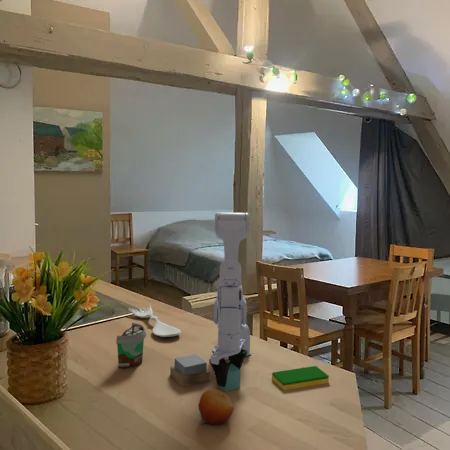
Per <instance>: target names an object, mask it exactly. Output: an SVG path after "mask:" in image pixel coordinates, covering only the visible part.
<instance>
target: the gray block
mask: <svg viewBox="0 0 450 450" xmlns="http://www.w3.org/2000/svg"><path fill="white" fill-rule="evenodd" d="M207 363H208V362H207V361H205V360H204V359H203V358H201V357H200V356H199V355H197V353H195V354H189V355H184V356H179V357H175V358H174V366H175V368H176V369H177V370H178V371H180V372H181V373H182V374H183V375H184V376H188V375H192V374H197V373H202V372H206V371H207V370H208V369H207V365H208V364H207Z"/></svg>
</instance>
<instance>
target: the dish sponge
mask: <svg viewBox="0 0 450 450" xmlns="http://www.w3.org/2000/svg"><path fill="white" fill-rule="evenodd" d="M329 377H330V376H329V374H327V373H326V372H325V371H324V370H322V369H320V368H319V367H318V366H317V365H314V366H306V367H301V368H293V369H292V368H291V369H288V370H280V371H273V372H272V373H271V380H272V381H273V382H274V383H275V384H276V385H277V386H278V388H280V389H281V390H283V391H289V390H294V389H300V388H306V387H307V388H308V387H313V386H314V387H315V386H318V385H319V386H320V385H324V384H329V379H330V378H329Z"/></svg>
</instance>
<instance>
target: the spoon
mask: <svg viewBox="0 0 450 450" xmlns="http://www.w3.org/2000/svg"><path fill="white" fill-rule="evenodd" d="M127 309H128V311H129V312H130V313H132V314H133V315H135V316H136V317H138V318H141V319H148V318H149V320H150V321H155V324H154V325H153V328H152V331H151V332H152V333H153V334H154V335H155V336H157V337H162V338H172V337H176V336H178V335H179V334H181V332H182V331H181V329H179V328H177V327H175V326H172V325H170V324H168V323H167V324H166V323H164V322H162V321H160V320H159V317H158V316H156V315H154V314H153V313H154V312H153V309H152V306H151V304H149V305H148V306H146V307H144V306H143V307H142V309H143V310H142V309H141V307H140V308H138V309H137V308H135V309H134V308H133V307H132V308H130V307H128V308H127Z"/></svg>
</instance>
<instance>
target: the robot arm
mask: <svg viewBox="0 0 450 450" xmlns="http://www.w3.org/2000/svg"><path fill="white" fill-rule="evenodd" d="M249 231H250V214H249V212H227V211H224V212H222V211H220V212H219V211H216V212H215V214H214V232H215V236H216V238H217V239H220V240H222V242H223V253H224V257H223V258H224V260H223V261H222V262H221V263H220V265H219V283H218V284H219V285H218V286H219V287H218V288H217V292H216V298H215V300H214V307H213V323H214V324H215V325H217V343H216V344H214V347H213V349H212V350H211V351H212V352H213V354H212V355H210V358H209V361H208V362H209V365H210V366H211V368H212V371H213V373H214V376H215V379H216V386H218V387H219V386H221V387H225V386H226V382H227V374H228V370H229V367H230V365H231V363H232V364H233V365H235V366H236V367H237V368H239V369H240V371H241V370H242V366H243V363H244V360H245V359H246V356H250V355H252V352H251V330H250V327H249V326H248V324H247V315H248V314H247V300H246V298H245V297H243V296H244V295H243V286H242V284H243V283H242V264H241V263H240V262H239V246H240V244H241V241H242V240H245V239H247V238H248V236H249ZM227 360H228V361H227Z"/></svg>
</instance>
